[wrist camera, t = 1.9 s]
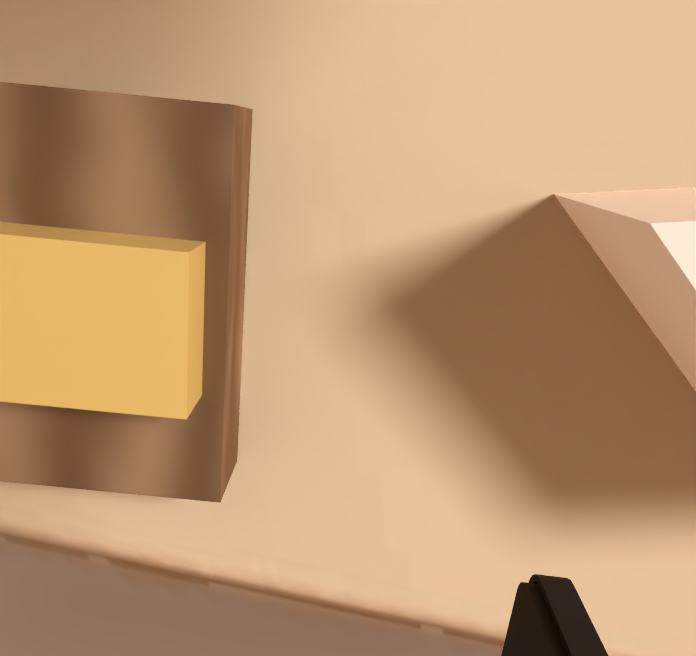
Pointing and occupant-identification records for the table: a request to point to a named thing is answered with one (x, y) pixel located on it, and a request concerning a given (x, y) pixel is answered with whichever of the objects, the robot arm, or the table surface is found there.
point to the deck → (146, 220)
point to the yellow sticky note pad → (101, 320)
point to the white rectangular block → (648, 257)
